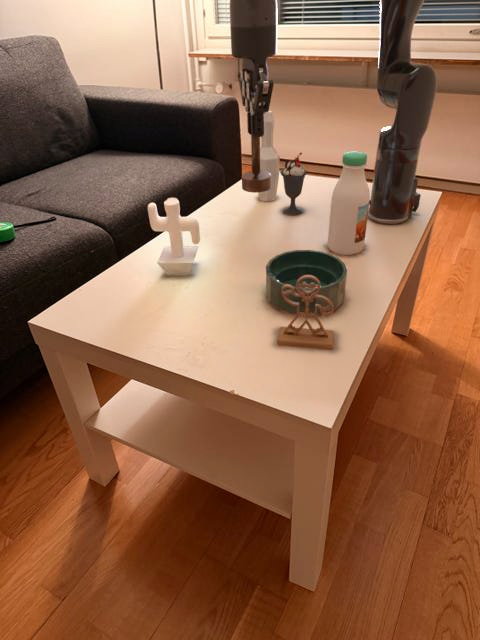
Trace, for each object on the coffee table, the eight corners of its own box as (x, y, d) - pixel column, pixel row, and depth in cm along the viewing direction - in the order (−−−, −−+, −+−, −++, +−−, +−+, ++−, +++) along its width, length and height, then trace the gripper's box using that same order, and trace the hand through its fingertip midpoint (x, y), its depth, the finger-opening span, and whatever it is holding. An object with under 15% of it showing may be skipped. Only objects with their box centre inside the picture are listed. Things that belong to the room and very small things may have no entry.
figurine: (200, 279, 92) (193, 207, 83) (154, 279, 93) (142, 208, 84) (205, 261, 98) (198, 193, 89) (161, 261, 99) (151, 193, 90)
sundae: (304, 216, 115) (307, 155, 106) (278, 215, 116) (278, 154, 107) (307, 206, 120) (310, 147, 111) (281, 205, 121) (282, 146, 113)
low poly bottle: (257, 193, 129) (255, 108, 116) (279, 194, 128) (281, 108, 115) (254, 202, 124) (252, 114, 111) (278, 202, 123) (279, 114, 110)
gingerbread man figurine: (333, 334, 76) (339, 271, 69) (332, 349, 73) (339, 284, 66) (279, 330, 77) (280, 267, 70) (276, 345, 74) (277, 280, 67)
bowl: (323, 271, 93) (325, 244, 89) (357, 309, 82) (361, 280, 78) (256, 284, 90) (255, 257, 86) (282, 325, 79) (282, 295, 75)
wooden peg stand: (265, 181, 93) (264, 101, 84) (274, 190, 88) (275, 106, 80) (238, 184, 92) (235, 104, 83) (246, 194, 87) (244, 110, 79)
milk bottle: (342, 259, 97) (351, 162, 85) (320, 245, 102) (326, 152, 91) (371, 250, 99) (384, 155, 88) (348, 236, 105) (358, 146, 93)
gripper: (290, 23, 70) (288, 142, 80) (262, 19, 80) (263, 124, 91) (242, 26, 68) (246, 147, 78) (220, 22, 79) (226, 128, 89)
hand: (255, 134), depth 84 cm, fingers closed on wooden peg stand
